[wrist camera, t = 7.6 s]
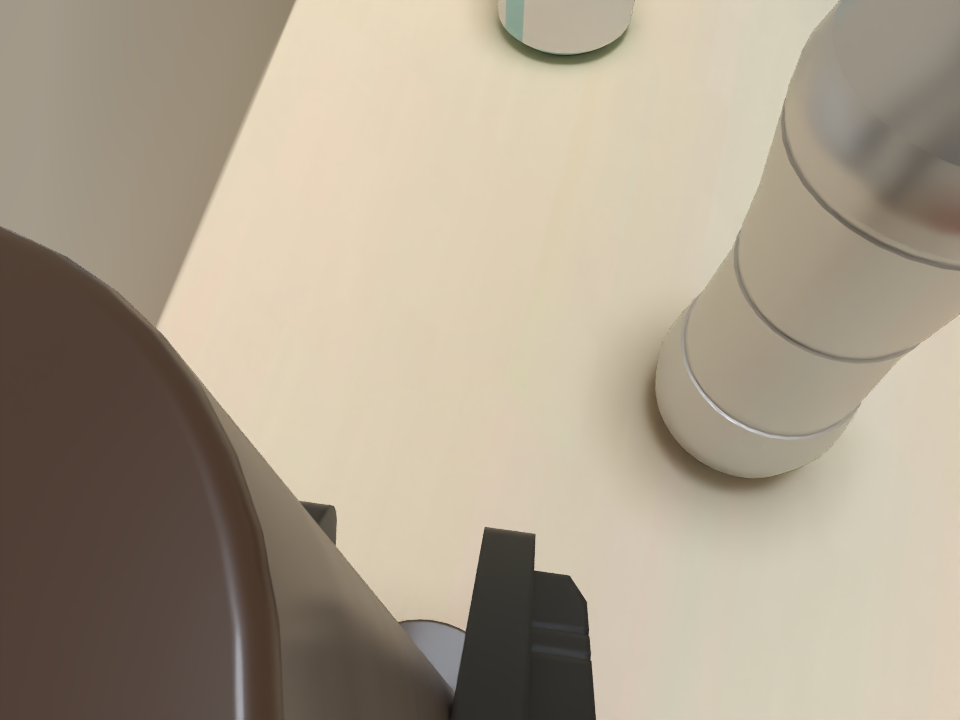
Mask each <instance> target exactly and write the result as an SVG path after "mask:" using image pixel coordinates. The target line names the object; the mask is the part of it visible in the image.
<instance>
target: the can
mask: <svg viewBox="0 0 960 720" xmlns="http://www.w3.org/2000/svg"><path fill="white" fill-rule="evenodd" d="M634 1H635V0H498V14H499V18H500V21H501V23H502V24H503V26H504V27H505V29H506V30H507V31H508V32H509V33H510V34H511V35H512V36H513V37H515V38H516V39H517V40H519V41H521V42H522V43H524V44H526V45H528V46H530V47H532V48H535V49H537V50H540V51H543V52H546V53H551V54H557V55H574V54H580V53H585V52H589V51H592V50H596V49H598V48H601V47H603V46H605V45H607V44H609V43H611V42H613V41H614V40H616V39H617V38H618V37H620V36H621V35H622V34H623V32H624V31H625V30H626V29H627V27H628V25H629V23H630V20H631V16H632V11H633V6H634Z"/></svg>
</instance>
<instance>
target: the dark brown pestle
mask: <svg viewBox="0 0 960 720" xmlns="http://www.w3.org/2000/svg"><path fill="white" fill-rule="evenodd" d="M465 634H466V632H465V631H463V630H461V629H460V628H457V627H455V626H452V625H449V624H447V623H443V622H438V621H434V620H421V619H420V620H406V621H401V622H397V621H396V619H395V618H394V617H393V616H392V615H391V613H390V612H389V611H388V610H387V608H386V607H385V606H384V605H383V604H382V602H381V601H380V600H379V599H378V597H377V596H376V595H375V594H374V593H373V591H372V590H371V589H370V588H369V586H368V585H367V584H366V583H365V581H364V580H363V579H362V578H361V577H360V575H359V574H358V573H357V572H356V570H355V569H354V568H353V567H352V566H351V564H350V563H349V562H348V561H347V559H346V558H345V557H344V556H343V555H342V553H341V552H340V551H339V550H338V548H337V547H336V546H335V545H334V544H333V542H332V541H331V540H330V539H329V537H328V536H327V535H326V534H325V533H324V531H323V530H322V529H321V528H320V526H319V525H318V524H317V523H316V522H315V520H314V519H313V518H312V517H311V515H310V514H309V513H308V512H307V511H306V509H305V508H304V507H303V506H302V504H301V503H300V502H299V501H298V500H297V498H296V497H295V496H294V495H293V493H292V492H291V491H290V490H289V488H288V487H287V486H286V485H285V484H284V482H283V481H282V480H281V479H280V477H279V476H278V475H277V474H276V473H275V471H274V470H273V469H272V468H271V466H270V465H269V464H268V463H267V462H266V460H265V459H264V458H263V457H262V455H261V454H260V453H259V452H258V451H257V449H256V448H255V447H254V446H253V444H252V443H251V442H250V441H249V440H248V438H247V437H246V436H245V435H244V433H243V432H242V431H241V430H240V429H239V427H238V426H237V425H236V424H235V422H234V421H233V420H232V419H231V418H230V416H229V415H228V414H227V413H226V411H225V410H224V409H223V408H222V406H221V405H220V404H219V403H218V402H217V400H216V399H215V398H214V397H213V395H212V394H211V393H210V392H209V391H208V389H207V388H206V387H205V386H204V384H203V383H202V382H201V381H200V380H199V378H198V377H197V376H196V375H195V373H194V372H193V371H192V370H191V369H190V367H189V366H188V365H187V364H186V362H185V361H184V360H183V359H182V358H181V356H180V355H179V354H178V353H177V351H176V350H175V349H174V348H173V347H172V345H171V344H170V343H169V342H168V340H167V339H166V338H165V337H164V336H163V335H162V334H161V333H160V332H159V331H158V330H157V329H156V328H155V327H154V326H153V325H152V324H151V323H150V322H149V321H148V320H147V319H146V318H145V317H144V316H143V315H142V314H140V313H139V312H138V311H137V310H136V309H135V308H134V307H133V306H132V305H131V304H130V303H129V302H128V301H127V300H126V299H125V298H124V297H123V296H122V295H121V294H120V293H119V292H117V291H116V290H114V289H113V288H111V287H110V286H109V285H107V284H106V283H104V282H103V281H101V280H100V279H98V278H97V277H96V276H94V275H93V274H91V273H90V272H88V271H87V270H85V269H84V268H82V267H81V266H79V265H78V264H77V263H75V262H74V261H72V260H71V259H69V258H68V257H66V256H64V255H62V254H60V253H58V252H56V251H53V250H51V249H49V248H47V247H45V246H43V245H41V244H39V243H36V242H34V241H32V240H30V239H28V238H26V237H24V236H22V235H20V234H18V233H16V232H13V231H11V230H9V229H6V228H3V227H1V226H0V720H450V717H451V712H452V706H453V700H454V695H455V689H456V684H457V678H458V673H459V667H460V662H461V656H462V650H463V645H464V639H465Z"/></svg>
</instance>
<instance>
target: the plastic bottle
mask: <svg viewBox="0 0 960 720" xmlns="http://www.w3.org/2000/svg"><path fill="white" fill-rule="evenodd" d="M959 314H960V0H840V1H839V2H838V3H837V4H836V5H835V6H834V8H833V9H832V10H831V11H830V12H829V13H828V14H827V15H826V17H825V18H824V19H823V20H822V21H821V22H820V23H819V25H818V26H817V27H816V28H815V29H814V30H813V32H812V34H811V35H810V37H809V39H808V41H807V43H806V44H805V46H804V48H803V50H802V53H801V55H800V58H799V61H798V63H797V66H796V69H795V71H794V73H793V76H792V78H791V81H790V83H789V86H788V91H787V96H786V98H785V101H784V104H783V107H782V111H781V114H780V117H779V121H778V124H777V127H776V131H775V134H774V138H773V141H772V144H771V148H770V151H769V154H768V158H767V161H766V164H765V168H764V171H763V175H762V178H761V181H760V185H759V187H758V189H757V192H756V194H755V196H754V198H753V201H752V203H751V205H750V208H749V210H748V212H747V214H746V217H745V219H744V221H743V224H742V228H741V230H740V232H739V233H738V235H737V238H736V240H735V242H734V245H733V247H732V249H731V251H730V252H729V254H728V255H727V257H726V258H725V260H724V261H723V262H722V264H721V265H720V267H719V268H718V270H717V271H716V273H715V274H714V276H713V277H712V279H711V280H710V282H709V283H708V284H707V286H706V287H705V289H704V290H703V292H701V293H700V294H699V295H698V296H697V297H696V298H695V299H694V300H693V301H692V302H691V303H690V304H689V305H688V307H687V308H686V309H685V310H684V311H683V312H682V314H681V315H680V316H679V317H678V319H677V320H676V321H675V322H674V324H673V325H672V326H671V328H670V329H669V331H668V333H667V334H666V336H665V338H664V340H663V342H662V345H661V349H660V352H659V356H658V362H657V370H656V383H655V393H656V398H657V404H658V408H659V411H660V413H661V416H662V418H663V421H664V423H665V424H666V426H667V428H668V429H669V431H670V433H671V434H672V436H673V437H674V438H675V439H676V440H677V442H678V443H679V444H680V445H681V446H682V447H683V448H684V449H685V450H686V451H687V452H688V453H690V454H691V455H692V456H693V457H695V458H696V459H697V460H698V461H700V462H702V463H704V464H705V465H707V466H709V467H711V468H713V469H714V470H717V471H720V472H723V473H726V474H729V475H732V476H738V477H745V478H767V477H771V476H775V475H779V474H782V473H785V472H788V471H791V470H794V469H797V468H799V467H802V466H804V465H806V464H808V463H810V462H812V461H814V460H816V459H818V458H819V457H820V456H821V455H822V454H823V453H825V452H826V451H827V450H828V449H829V448H830V447H831V446H832V445H833V444H834V442H835V441H836V440H837V438H838V437H839V436H840V435H841V433H842V432H843V431H844V429H845V428H846V427H847V425H848V424H849V422H850V421H851V419H852V418H853V417H854V415H855V413H856V411H857V409H858V408H859V406H860V404H861V402H862V400H863V399H864V398H865V397H866V396H867V395H868V394H869V393H870V392H871V390H872V389H873V388H874V387H875V386H876V385H877V384H878V383H879V382H880V380H881V379H882V378H883V377H884V376H885V375H886V374H887V373H888V372H889V370H890V369H891V368H892V367H893V366H894V365H895V364H896V363H897V361H898V360H899V359H901V358H902V357H903V356H905V355H906V354H907V353H909V352H910V351H911V350H913V349H914V348H915V347H916V346H917V345H919V344H920V343H921V342H923V341H925V340H926V339H927V338H929V337H930V336H931V335H933V334H934V333H935V332H937V331H938V330H939V329H941V328H942V327H943V326H945V325H946V324H947V323H949V322H950V321H951V320H953V319H954V318H955V317H957V316H958V315H959Z"/></svg>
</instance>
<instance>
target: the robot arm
mask: <svg viewBox="0 0 960 720" xmlns="http://www.w3.org/2000/svg"><path fill="white" fill-rule="evenodd" d="M299 502H300V503H301V504H302V506H303V507H304V508H305V509H306V511H307V512H308V513H309V514H310V515H311V517H312V518H313V519H314V520H315V522H316V523H317V524H318V525H319V526H320V528H321V529H322V530H323V531H324V533H325V534H326V535H327V536H328V537H329V539H330V540H331V541H332V542H333V544H334V545H335V546H336V525H337V518H336V510H335V508H334V506H332V505H324V504H317V503H310V502H303V501H299ZM534 557H535V534H532V533H525V532H518V531H510V530H503V529H496V528H489V527H485V529H484V534H483V539H482V545H481V551H480V556H479V562H478V567H477V573H476V578H475V584H474V589H473V595H472V601H471V606H470V612H469V617H468V623H467V628H466V634H465V639H464V645H463V650H462V656H461V662H460V667H459V673H458V678H457V684H456V689H455V695H454V700H453V706H452V712H451V717H450V720H596V715H595V702H594V689H593V676H592V663H591V661H590V657H591V651H590V638H589V636H588V635H589V625H588V612H587V601H586V600H585V598H584V597H583V595H582V594H581V592H580V591H579V589H578V588H577V586H576V585H575V583H574V582H573V580H572V579H571V577H570V576H568V575H561V574H554V573H547V572H540V571H534Z"/></svg>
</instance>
